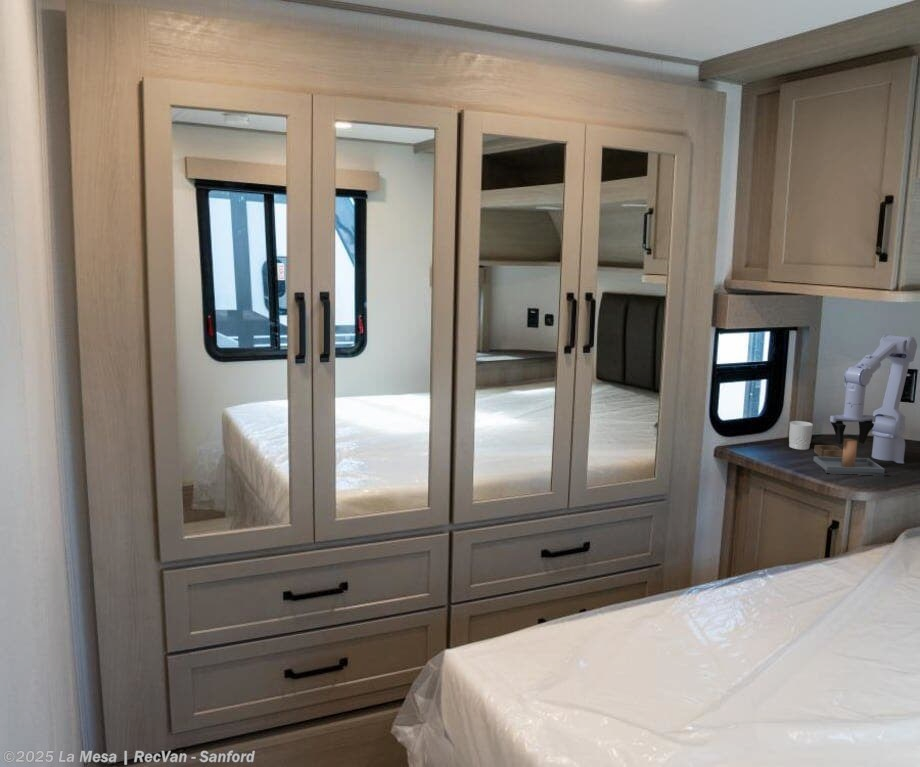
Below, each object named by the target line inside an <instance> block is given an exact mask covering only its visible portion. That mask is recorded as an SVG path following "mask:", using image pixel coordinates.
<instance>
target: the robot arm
mask: <svg viewBox="0 0 920 767" xmlns="http://www.w3.org/2000/svg"><path fill="white" fill-rule="evenodd" d="M917 348H918V344H917V340H916V338H915V337H914V336H906V335H905V336H904V335H893V334H887V333H886V334H884V335H883V336H882V337H881V338H880V340H879V345H878V347H877V348H876V349H875V350H874V351H873V352H872V354H866V355H864V357H863V358H861V360H859V361H858V362H857V363H856V364H854V366H849V367H847V368H846V369H845V371H844V373H843V375H842V376H843V381H844V389H845V395H844V396H845V398H844V407H843V414H836V415H835V414H834V415H830V416H829V421H830V422H831V423H830V424H831V426H832V427H833V430H834V433H835V439H836V443H838V444H839V445H842V444H843V443H844V434H845V430H846V427H847V425H846V424H845V423H855V422H856V423H858V428H859V431H858V432H859V433H858V443H860V444H862V445H863V444H865V443H866V439H867V437H868V435H869V434H870V432H871V434H872V435H873V440H872V450H871V458H872V459H876V460H880V461H887V462H888V461H893V462H895V463H896V464H905V461H904V460H905V449H906V441H905V438H904V437H903V436H902V435H903V434H904V432H905V428H906V416H905V415H904V413H902V412H901V411H900V409H899V408H900V405H901V404H900V403H901V398H902V396H903V393H904V392H903V391H904V387H905V383H906V379H907V374H908V371H909V370H908V369H909V367H910V363H911V362H914V360H915V357H916V356H915V355H916V353H917ZM885 359H889V360H890V362H891V367H890V372H889V375H888V376H889V377H888V379H887V385H886V389H885V394H884V397H883V401H882V405H881V406H880V407H879V408H877V409H875V410H873V413H872V414H871V415H869V414H864V409H865V408H864V407H865V398H866V390H867V386H868V385H869V384H870V382H871V379H872V378H873V374H875V373H876V371H878V370H879V369H880V367H881V364H882V363H881V362H882V361H884V360H885Z"/></svg>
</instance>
